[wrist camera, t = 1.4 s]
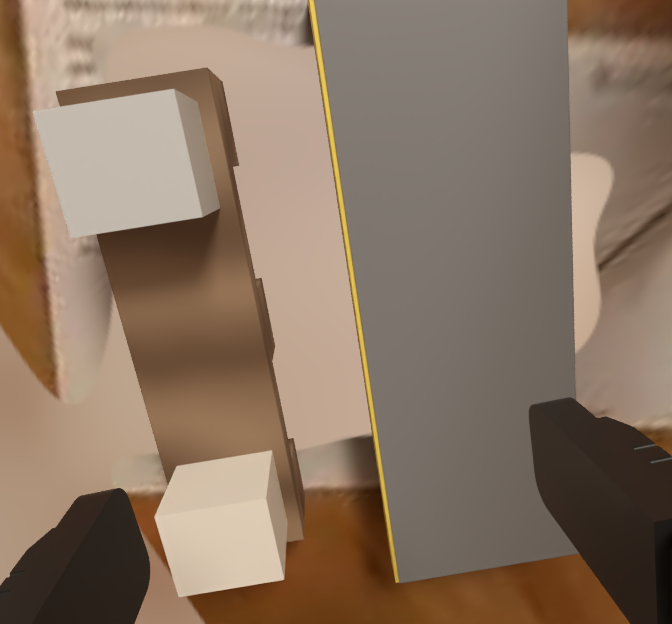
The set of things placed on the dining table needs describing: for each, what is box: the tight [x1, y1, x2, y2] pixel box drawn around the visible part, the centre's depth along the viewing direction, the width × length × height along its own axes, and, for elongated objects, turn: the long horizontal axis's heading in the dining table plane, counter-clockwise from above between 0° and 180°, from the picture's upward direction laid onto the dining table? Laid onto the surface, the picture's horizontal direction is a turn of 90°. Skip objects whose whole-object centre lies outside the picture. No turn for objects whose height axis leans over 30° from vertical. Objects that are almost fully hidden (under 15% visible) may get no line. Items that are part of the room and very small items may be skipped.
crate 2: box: [155, 450, 287, 597], centre depth 25 cm, size 4×5×4 cm
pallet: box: [56, 68, 305, 542], centre depth 27 cm, size 24×6×4 cm, turn 9°
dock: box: [308, 0, 579, 583], centre depth 26 cm, size 30×10×5 cm, turn 9°
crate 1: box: [33, 89, 220, 238], centre depth 21 cm, size 4×5×4 cm
